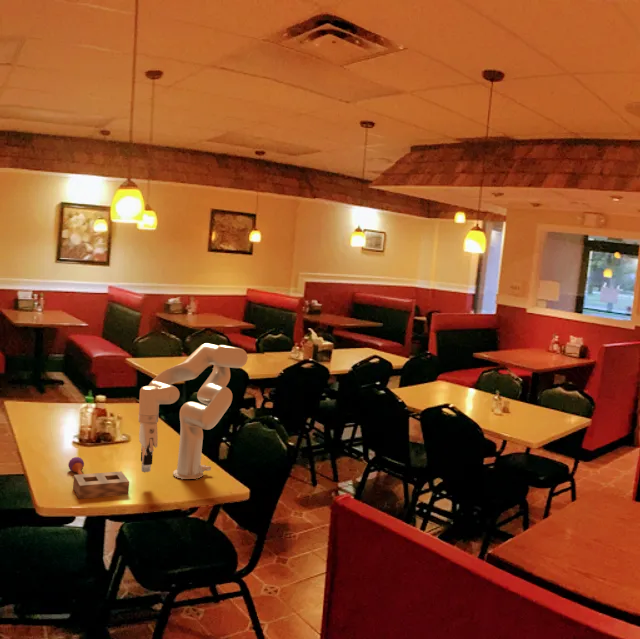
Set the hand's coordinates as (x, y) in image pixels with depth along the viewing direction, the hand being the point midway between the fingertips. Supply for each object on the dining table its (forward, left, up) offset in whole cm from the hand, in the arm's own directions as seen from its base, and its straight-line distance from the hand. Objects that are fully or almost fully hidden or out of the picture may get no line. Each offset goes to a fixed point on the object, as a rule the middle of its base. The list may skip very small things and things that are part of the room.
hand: (146, 462), depth 256 cm
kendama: (+22, -17, -10) cm, 30 cm away
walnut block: (+17, 0, -10) cm, 20 cm away
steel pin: (0, 0, -3) cm, 3 cm away
